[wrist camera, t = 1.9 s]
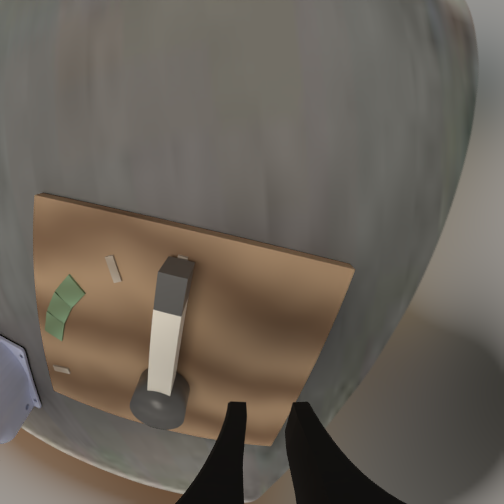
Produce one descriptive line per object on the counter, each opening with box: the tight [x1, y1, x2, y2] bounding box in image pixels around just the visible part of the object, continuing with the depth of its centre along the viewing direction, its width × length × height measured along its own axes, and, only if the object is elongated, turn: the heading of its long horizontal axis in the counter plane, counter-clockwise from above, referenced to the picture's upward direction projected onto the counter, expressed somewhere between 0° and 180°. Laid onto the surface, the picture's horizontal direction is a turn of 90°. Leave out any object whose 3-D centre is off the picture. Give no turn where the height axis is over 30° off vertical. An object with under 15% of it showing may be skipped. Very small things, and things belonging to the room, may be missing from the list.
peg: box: [130, 256, 195, 430], centre depth 17 cm, size 13×4×3 cm, turn 166°
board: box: [33, 193, 355, 446], centre depth 20 cm, size 19×22×1 cm
